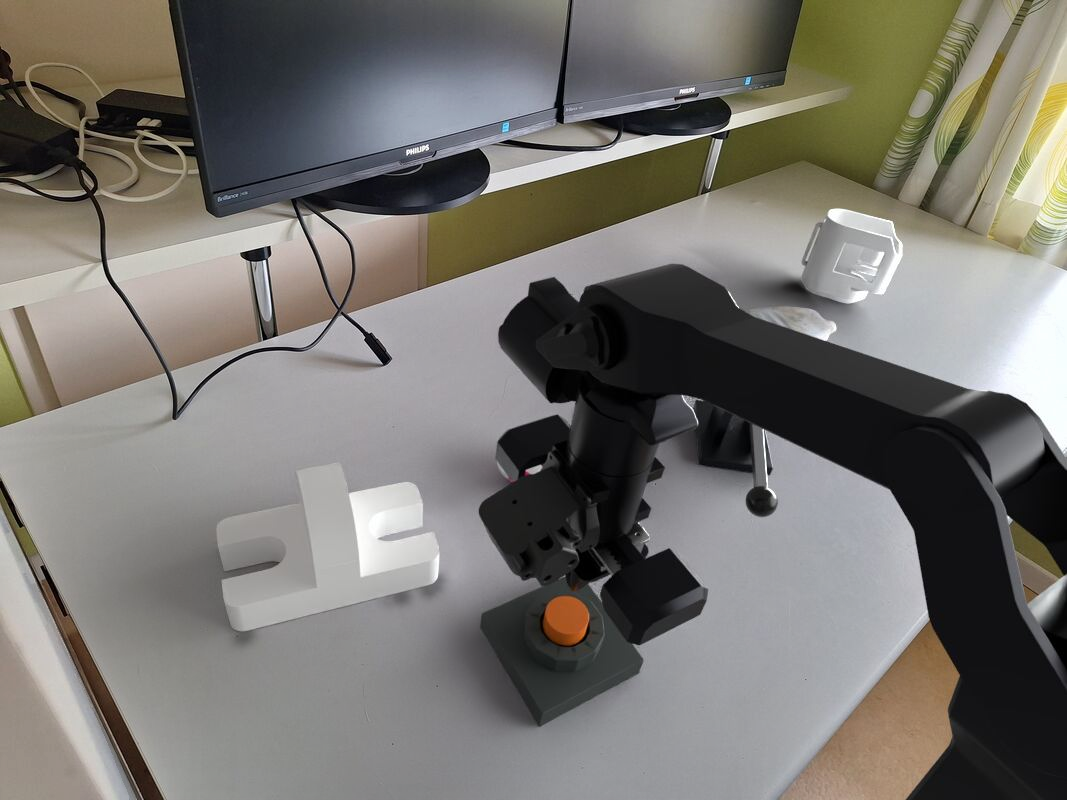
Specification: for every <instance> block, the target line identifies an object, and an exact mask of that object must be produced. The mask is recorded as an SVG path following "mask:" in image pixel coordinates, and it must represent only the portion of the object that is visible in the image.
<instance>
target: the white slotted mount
mask: <svg viewBox="0 0 1067 800" xmlns="http://www.w3.org/2000/svg"><path fill="white" fill-rule="evenodd" d="M294 473H295V481H296V490H297V497H298V498H297V499H298V502H297V503H293V504H288V505H282V506H279V507H278V506H277V507H272V508H268V509H263V510H258V511H257V510H256V511H252V512H247V513H243V514H237V515H232V516H228V517H225V518H224V519H221V521H219V522H218V524H217V525H216V529H215V533H216V540H217V548H218V552H219V556H220V560H221V564H222V568H223V572H228V571H233V570H238V569H243V568H247V567H251V566H256V565H260V564H264V563H271V562H275V563H278V564H276V565H275V566H273V567H270V568H267V569H263V570H258V571H255V572H249V573H245V574H241V575H236V576H232V577H227V578H224V579H221V588H222V597H223V602H224V605H225V610H226V613H227V617H228V620H229V624H230V626H231V628H232V629H233V630H235V631H237V632H248V631H252V630H256V629H260V628H264V627H268V626H272V625H276V624H280V623H284V622H288V621H292V620H296V619H300V618H304V617H308V616H312V615H316V614H320V613H324V612H327V611H328V612H329V611H331V610H335V609H340V608H343V607H347V606H351V605H355V604H360V603H363V602H367V601H371V600H376V599H379V598H383V597H388V596H391V595H395V594H396V595H397V594H399V593H404V592H407V591H411V590H415V589H419V588H422V587H427V586H430V585H432V584H434V583H436V582H437V580H438V578H439V569H440V568H439V567H440V551H441V550H440V549H441V548H440V546H439V543H438V541H437V538H436V535H435V532H434V531H430V532H426V533H422V534H418V535H413V536H408V537H403V538H400V539H395V540H382V539H381V538H382V537H385V536H389V535H394V534H400V533H402V532H408V531H411V530H417V529H421V528H423V517H424V516H423V515H424V513H423V512H424V501H423V499H422V496H421V493H420V491H419V488H418V486H417V485H416V484H414V483H413V482H408V481H402V482H401V481H400V482H397V483H392V484H387V485H382V486H376V487H372V488H367V489H362V490H357V491H353V492H352V491H351V492H349V488H348V484H347V480H346V476H345V473H344V470H343V467H342V464H341V463H340V462H333V463H328V464H322V465H316V466H312V467H306V468H301V469H295V472H294Z"/></svg>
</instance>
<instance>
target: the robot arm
mask: <svg viewBox="0 0 1067 800" xmlns="http://www.w3.org/2000/svg"><path fill="white" fill-rule="evenodd" d="M738 307H739V306H738V304H737V302H736V300H735V299H734V298H733V296H732V294H731V293H730V291H729V289H727V288H726V287H725V286H724V285H723V284H721V283H719V282H717V281H716V280H713V279H712V278H709V277H708V276H707V275H704V274H702V273H701V272H699V271H697V270H695V269H694V268H691V267H689V266H688V265H685V264H683V263H682V264H681V263H669V264H665V265H664V264H663V265H661V266H657V267H654V268H650V269H646V270H642V271H638V272H635V273H631V274H627V275H623V276H619V277H616V278H612V279H607V280H604V281H599V282H597V283H592V284H589V285H587V286H585V287H584V289H583V292H582V293H581V295H580V298H579V301H578V299H576V298H575V297H574V296H573V295H572V294H571V293H570V292H569V291H568V289H567V288H566V287H565V285H564V284H563V283H562V282H561V281H560V280H559V279H558V278H556V277H555V276H551V277H548V278H543V279H540V280H535V281H532V282H530V283H529V284H528V292H527V296H525V297H524V298H522V299H521V300H519V302H517V303H516V304H515V306H513V307H512V308H511V310H510V311H509V312H508V314H507V315H506V317H505V318H504V320H503V322H502V324H500V326H499V327H498V332H497V337H498V338H497V342H498V344H499V347H500V349H501V350H502V351H503V353H504V354H505V355H506V356H507V357H508V358H509V360H510V361H512V362H513V364H514V365H515V366H516V367H517V369H519V371H521V373H522V374H523V375H524V376H525V377H526V378H527V379H528V380H529V382H530V383H531V384H532V385H533V386H534V387H535V388H536V389H537V391H539V393H540V394H541V395H542V396H543V397H544V399H545V400H547V402H548V403H549V404H566V403H571V402H574V406H573V412H572V417H571V422H570V423H569V422H568V420H567V419H566V418H564V417H563V416H561V415H559V414H558V413H557V414H552V415H549V416H546V417H545V416H544V417H543V418H540V419H536V420H533V421H529V422H527V423H524V424H520V425H517V426H515V427H511V428H508V429H506V430H505V431H504V432H503V433H502V435H501V436H499V437H498V440H497V441H496V442H497V443H496V451H495V460H496V463H497V462H498V463H499V464H500V466H501V467H502V468H503V470H504V471H505V473H506V474H507V475H508V477H509V478H510V480H511V481H514V482H511V481H510V482H511V483H509V484H508V485H506V486H505V487H503V488H501V489H500V490H498V491H497V492H495V493H493V494H492V495H490V496H488V497H487V498H485V499H484V500H483V501H481V503H480V505H479V507H478V516H479V518H480V520H481V523H482V524H483V526H484V528H485V530H486V532H487V535H488V537H489V539H490V540H491V541H490V542H492V544H493V545H494V546H495V548H496V549H497V551H498V553H499V554H500V556H501V557H502V559H503V560H504V562H505V564H506V565H507V567H508V568H509V570H510V572H512V574H514V575H515V576H517V577H519V578H520V580H521V581H522V582H527V581H530V579H536V580H537V581H538V584H539V585H540V587H542V586H548V585H550V584H552V583H554V582H555V581H557V580H558V579H561V578H563V577H566V581H567V584H568V586H569V587H570V589H571V590H572V592H575V591H577V590H579V589H581V588H583V587H585V586H586V585H587V584H589V585H590V583H595V582H597V581H600V580H602V579H604V578H606V577H608V576H610V577H609V578H608V579H607V580H606V581H605V582H604V583H603V584H602V586H601V589H600V593H599V596H600V597H599V598H600V600H601V602H602V604H603V607H604V611H605V612H606V613H607V615H608V616H609V618H610V619H611V620H612V622H613V623H614V624H615V626H616V627H617V629H618V630H619V631H620V633H621V634H622V636H623V637H624V638H625V640H626V641H627V642H628V643H632V644H633V645H634V646H639V647H640V646H642V645H643V644H645V643H648V642H649V641H652V640H653V639H655V638H657V637H660V636H662V635H663V634H665V633H667V632H669V631H671V630H673V629H675V628H677V627H679V626H681V625H683V624H685V623H687V622H689V621H691V620H693V619H695V618H697V617H699V616H700V615H701V614H702V612H703V610H704V608H705V606H706V603H707V601H708V595H709V588H708V586H707V585H706V584H705V583H704V582H703V580H702V579H701V577H699V576H698V574H697V573H696V572H695V571H694V570H693V569H692V568H691V566H690V565H689V564H688V562H687V561H686V560H685V559H684V558H683V557H682V555H680V553H679V552H678V551H677V550H675V549H673V548H672V547H668V548H666V549H664V550H661V551H659V552H657V553H655V554H653V555H650V556H648V555H649V553H650V548H649V546H648V545H647V543H648V542H649V541H650V540H651V539H650V538H651V536H650V535H649V533H648V531H646V530H645V528H644V527H643V526H642V525H641V523H640V522H642V521H644V520H647V519H649V517H650V514H651V512H652V507H651V506H650V504H649V503H647V501H646V500H645V499H644V497H643V496H644V493H645V489H646V486H647V484H650V483H652V482H654V481H657V480H659V479H662V478H663V474H664V472H665V469H666V467H665V465H663V463H662V462H661V461H660V460H659V459H658V458H657V457H656V454H657V451H658V448H659V445H660V444H661V443H664V442H667V441H669V440H671V439H674V438H677V437H679V436H681V435H684V434H687V433H689V432H691V431H694V430H695V429H696V428H697V427H698V421H697V418H696V416H695V413H694V410H693V407H691V406H690V405H689V404H688V403H687V401H686V400H685V398H684V396H685V397H691V398H694V399H696V400H701V401H705V402H708V403H710V404H712V405H714V406H716V407H718V408H720V409H722V410H724V411H726V412H728V413H731V414H733V415H735V416H737V417H739V418H741V419H743V420H745V421H747V422H749V423H751V424H753V425H756V426H758V427H760V428H762V429H764V430H765V431H766V432H769V433H770V434H773V435H774V436H777V437H779V438H781V439H783V440H785V441H787V442H789V443H791V444H793V445H795V446H798V447H799V448H801V449H803V450H806V451H808V452H810V453H812V454H814V455H816V456H819V457H820V458H823V459H824V460H826V461H828V462H831V463H833V464H835V465H837V466H839V467H842V468H843V469H845V470H848V471H850V472H852V473H853V474H856V475H858V476H860V477H861V478H864V479H866V480H868V481H871V482H873V483H874V484H876V485H879V486H881V487H883V488H885V489H887V490H889V491H890V492H891V494H892V496H893V497H894V499H895V502H897V505H898V506H899V508H900V509H901V512H902V513H903V514H904V516H905V519H907V522H908V523H909V525H910V527H911V528H912V531H913V533H914V540H915V546H916V551H917V556H918V558H917V559H918V563H919V569H920V575H921V580H922V581H921V582H922V586H923V591H924V597H925V604H926V610H927V615H928V618H929V622H930V625H931V627H932V630H933V632H934V633H935V635H936V637H937V638H938V640H939V642H940V644H941V645H942V647H943V649H944V651H945V652H946V654H947V656H948V658H949V659H950V661H951V663H952V665H953V666H954V668H955V670H956V671H957V673H958V675H959V677H958V679H957V683H956V686H955V688H954V690H953V693H952V696H951V698H950V701H949V704H948V707H947V716H948V722H949V726H950V731H951V739H950V741H949V744H948V746H947V747H946V749H945V750H944V751H943V752H942V753H941V755H940V756H939V757H938V759H936V761H935V762H934V764H933V765H932V766H930V769H929V770H928V771H926V773H925V775H924V776H923V777H922V778H921V780H920V781H919V782H918V783H917V785H916V786H915V787H914V788H913V790H912V791H911V792H910V793H909V794H908V795H907V797H906V798H905V800H1067V457H1066V455H1065V454H1064V452H1063V451H1062V449H1061V447H1060V446H1059V444H1058V443H1057V441H1056V440H1055V439H1054V437H1053V436H1052V434H1051V432H1050V431H1049V429H1048V428H1047V426H1046V425H1045V423H1044V422H1043V420H1042V419H1041V417H1040V416H1039V415H1038V414H1037V413H1036V412H1035V411H1034V410H1033V409H1032V408H1031V406H1030V405H1029V404H1028V403H1027V402H1025V401H1024V400H1021V399H1019V398H1017V397H1015V396H1014V395H1012V394H1009V393H1005V392H998V391H992V390H982V389H974V388H973V389H972V388H967V387H964V386H961V385H958V384H955V383H952V382H949V381H947V380H944V379H940V378H937V377H935V376H932V375H928V374H925V373H922V372H919V371H916V370H914V369H910V368H909V367H905V366H902V365H898V364H895V363H892V362H890V361H887V360H884V359H881V358H878V357H875V356H873V355H872V356H871V355H869V354H866V353H863V352H860V351H856V350H855V349H851V348H848V347H845V346H843V345H840V344H836V343H833V342H830V341H828V340H827V341H825V340H822V339H819V338H816V337H813V336H810V335H807V334H804V333H801V332H798V331H795V330H792V329H789V328H786V327H783V326H780V325H777V324H774V323H771V322H768V321H765V320H762V319H759V318H756V317H754V316H752V315H750V314H749V313H747V312H745V311H743V310H744V309H742V308H741V307H739V308H738ZM539 465H541V466H542V469H541V471H539V472H537V473H535V474H528V475H525V471H526V470H527V469H530V468H533V467H536V466H539ZM1008 517H1009V518H1010V520H1012V521H1013V522H1015V523H1016V524H1017V525H1018V526H1020V527H1021V528H1022V529H1024V530H1025V531H1026V533H1029V534H1030V535H1031V536H1032V537H1033V538H1035V539H1036V540H1037V541H1038V542H1040V543H1041V544H1042V545H1043V546H1044V547H1045V548H1046V550H1047V552H1048V553H1049V555H1050V556H1051V557H1052V560H1053V561H1054V562H1055V564H1056V565H1057V567H1058V569H1059V570H1060V572H1061V574H1062V575H1063V576H1062V577H1060V578H1058V580H1057V581H1055V582H1053V584H1051V585H1050V586H1049V587H1047V588H1046V589H1045V590H1043V591H1042V592H1041V593H1039V594H1038V595H1037V596H1035V597H1034V598H1033V599H1031V601H1029V602H1028V601H1027V597H1026V593H1025V589H1024V588H1025V587H1024V584H1023V580H1022V576H1021V570H1020V567H1019V562H1018V558H1017V554H1016V549H1015V544H1014V539H1013V536H1012V532H1011V531H1012V530H1011V527H1010V522H1009V518H1008Z"/></svg>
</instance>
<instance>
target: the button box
mask: <svg viewBox="0 0 1067 800" xmlns="http://www.w3.org/2000/svg"><path fill="white" fill-rule="evenodd" d="M560 596H570V597H573V598H576V599H578V600H579V601H581V602H582V603H583V604H584V605H585V607H586V608H587V610H588V613H589V622H588V625H587V629H586V632H585V635H584V637H583V639H582V640H581V641H580V642H578V643H577V644H574V645H571V646H562V645H558V644H556V643H554V642H552V641H551V640H550V639H549V638H548V637H547V636H546V634H545V632H544V629H543V620H544V615H545V610H546V607H547V605H548V604H549V602H550V601H552V600H553V599H555V598H557V597H560ZM479 628H480V630H481V632H482V634H483V635H484V637H485V638H486V640H487V642H488V643H489V646H490V647H491V648H492V651H493V652H494V653H495V656H496V657H497V659H498V660H499V662H500V664H501V666H502V668H504V671H505V673H506V674H507V675H508V677H509V679H510V680H511V682H512V684H513V685H514V687H515V689H516V691H517V693H518V694H519V696H520V697H521V699H522V700H523V702H524V705H525V706H526V708H527V709H528V711H529V712H530V714H531V716H532V717H533V719H534V721H535V722H536V724H537V726H538V727H542V726H543V725H546V724H547V723H550V722H551V721H553V720H555V719H557V718H559V717H560V716H562V715H564V714H566V713H567V712H570V711H572V710H574V709H575V708H577V707H579V706H581V705H582V704H585V703H586V702H588V701H590V700H592V699H593V698H596V697H597V696H599V695H601V694H603V693H605V692H607V691H609V690H611V689H612V688H614V687H616V686H618V685H619V684H621V683H623V682H625V681H627V680H629V679H631V678H632V677H634V676H636V675H638V674H639V673H640V671H641V669H642V666H643V663H644V661H645V658H644V657H643V656H642V654H641V653H640V652H639V650H638V649H637V648H636V646H635V644H632V643H628V642H627V641H626V640H625V638H624V637H623V636H622V634H621V633H620V631H619V630H618V629H617V627H616V626H615V624H614V623H613V622H612V620H611V619H610V618H609V616H608V615H607V613H606V612H605V611H604V607H603V604H602V600H601V598H600V597H599V596H598V595H597V594H596V592H595V591H594V590H593V588H592V587H591V586H590V583H589V584H587V585H586V586H585V587H583V588H581V589H579V590H577V591H575V592H572V590H571V589H570V587H569V586H568V584H567V581H566V577H565V576H563V577H561V578H560V579H558V580H557V581H555V582H554V583H552V584H550V585H548V586H540V587H538V588H535V589H533V590H531V591H529V592H527V593H525V594H523V595H520V596H518V597H515V598H512V599H511V600H509V601H506V602H504V603H502V604H499V605H498V606H495V607H493V608H491V609H488V610H487V611H484V612H482V613H481V618H480V625H479Z"/></svg>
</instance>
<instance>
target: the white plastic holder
mask: <svg viewBox="0 0 1067 800" xmlns="http://www.w3.org/2000/svg"><path fill="white" fill-rule="evenodd" d="M818 230H819V231H818ZM816 235H817V236H816ZM811 248H812V249H811ZM809 253H810V254H809ZM808 255H809V256H808ZM807 257H808V258H807ZM902 257H903V243H902V242H901V240H899V239H898V237H897V236H896V231H895V227H894V223H893V221H892V220H887V219H884V218H879V217H876V216H873V215H869V214H864V213H860V212H858V211H853V210H849V209H845V208H831V209H829V210H827V213H826V215H825V217H824V219H823V220H822V222H821V221H819V222H817V223H815V226H814V228H813V231H812V233H811V236H810V238H809V241H808V243H807V246H806V248H805V251H804V253H803V255H802V259H801V265H802V266H804V267H803V270H802V273H801V276H800V280H801V282H802V284H803V286H804V287H805V289H806V290H807V291H809V292H810V293H812V294H814V295H816V296H819V297H823V298H827V299H830V300H833V301H835V302H838V303H842V304H854V303H856V302H859V301H862V300H864V299H865V298H866V297H867V295H868V293H871V294H875V295H883V294H885V292H886V290H887V287H888V286H889V283H890V282H891V280H892V277H893V276H894V273H895V271H896V269H897V266H898V264H899V263H900V261H901V259H902ZM858 262H860V263H861V264H860V263H858ZM863 264H864V265H863ZM871 266H873V267H871ZM875 266H878V267H877V268H874V267H875ZM853 271H854V272H853ZM855 272H858V273H862V274H865V275H866V274H867V275H869V276H873V278H872V280H871V281H870V280H867V279H866V278H865V277H863V276H862V275H860V274H858V273H855Z"/></svg>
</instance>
